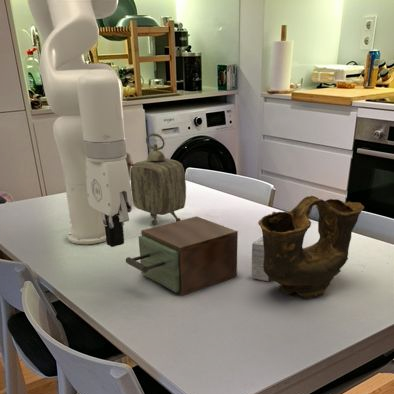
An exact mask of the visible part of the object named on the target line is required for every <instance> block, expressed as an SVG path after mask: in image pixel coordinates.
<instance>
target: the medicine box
mask: <svg viewBox="0 0 394 394" xmlns="http://www.w3.org/2000/svg"><path fill="white" fill-rule="evenodd" d="M263 263H264V246H263V236H261V237H260V238H258V239H257V240H255V241H254V242H252V245H251V275H250V277H251V279H253V280H258V281H263V282H270V281H271V279H269V278H268V276H267V274H266V273H265V272H264V268H263Z"/></svg>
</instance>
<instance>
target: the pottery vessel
mask: <svg viewBox="0 0 394 394" xmlns="http://www.w3.org/2000/svg"><path fill="white" fill-rule="evenodd" d="M314 206H315V208H316V209H317V212H318V223H317V233H318V235H319V238H318V241H317V242H315V243H313V244H311V245H308V246H306V247H303V244H304V239H305V236H306V233H307V231H308V229H310V228H311V225H312V222H311V220H310V219H309V215H310V214H311V212H312V209H313V207H314ZM364 209H365V206H364V205H363V204H362V203H361V202H358V201H356V202H351V201H350V200H348V201H343V200H340V199H338V198H335V199H333V198H328V199H326V200H324V199H322V198H319V197H317V196H315V195H309V196H308V195H307V196H305V197H304V198H303V199H301V200H300V201H299V202H298V204H297V205H296V206H294V208H292V209H291V210H290V211H272V212H271V213H270V214H267V215H264V216H263V217H261V219H259V220H258V221H257V225H258V226H259V227H260V229H261V233H262V237H263V246H264V263H263V268H264V272H265V273H266V274H267V276H268V278H269V279H271V280H272V281H273V282H275V283H277V284H279V285H280V286H279V288H278V291H279V292H281V293H285V294H286V295H291V294H293V293H297V294H298V296H300V297H302V298H304V299H310V298H315V297H316V296H317V297H318V296H322V295H324V293H325V292H326V291H327V288H328V287H330V285H331V282H332V281H333V279H334V278H335V277H336V276H338V274H339V273H341V269H342V268H343V267H344V266H345V264H346V263H347V261H348V260H349V248H350V243H351V240H352V232H353V230H354V229H355V226H356V225H357V223H358V220H359V217H360V214H361V213H362V212H363V210H364ZM271 280H270V281H271Z"/></svg>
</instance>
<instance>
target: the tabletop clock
mask: <svg viewBox="0 0 394 394" xmlns="http://www.w3.org/2000/svg"><path fill="white" fill-rule="evenodd" d="M150 137H157V138H159V139H160V140H161V141H162V145H161V146H159V147H158V144H156V143H154V144H153V145H150V144H149V142H148V141H149V139H150ZM145 143H146V145H147V147H148V148H149V149H151V150H152V151H150V152H149V153H148V155H147V159H145V160H141V161H137V162H135V163H133V166H131V169H130V185H131V193H132V204H133V205H134V207H135V208H136V209H138V210H140V211H142V212H145V213H149V216H150V217H151V218H153V219H152V220H151V223H152V225H154V226H155V225H157V224H158V220H157V215H159V216H166V215H167V214H170V215H172V216H173V218H174V219H175V222H176V221H180V220H182V219H181V218H180V217H178V216H177V214H176V213H175V212H177V211H180V210H182V209H185V206H186V200H187V182H186V174H185V169H184V166H183V163H181V162H179V161H178V160H174V159H172V158H168V157H166V156H165V153H163V152H162V151H161V150H163V148H165V145H166V144H165V143H166V142H165V139H164V138H163V136H162V135H160V134H158V133H153V132H152V133H149V134H148V135H147V136H146V139H145Z"/></svg>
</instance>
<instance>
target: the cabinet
mask: <svg viewBox="0 0 394 394" xmlns="http://www.w3.org/2000/svg"><path fill="white" fill-rule="evenodd" d="M140 231H141V232H140V233H141V236H142V235H143V236H146V237H148V238H151V239H153V240H155V241H158V242H160V243H162V244H164V245H166V246H168V247H171V248H173V249H175V250H177V251H178V255H179V278H180V291H178V292H175V293H177V294H178V295H180V296H182V297H183V296H185V295H189V294H191V293H194V292H197V291H200V290H203V289H206V288H209V287H211V286H214V285H216V284H220V283H222V282H225V281H228V280H232V279H234V278H237V277H238V237H239V236H238V233H239V231H238V230H235V229H232V228H229V227H227V226H224V225H222V224H219V223H216V222H213V221H211V220H208V219H206V218H204V217H200V216H197V215H196V216H192V217H189V218H188V217H187V218H185V219H181V220H180V221H176V220H175V221H172V222H169V223H165V224H161V225H157V226H153V227H149V228H146V229H142V230H140Z"/></svg>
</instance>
